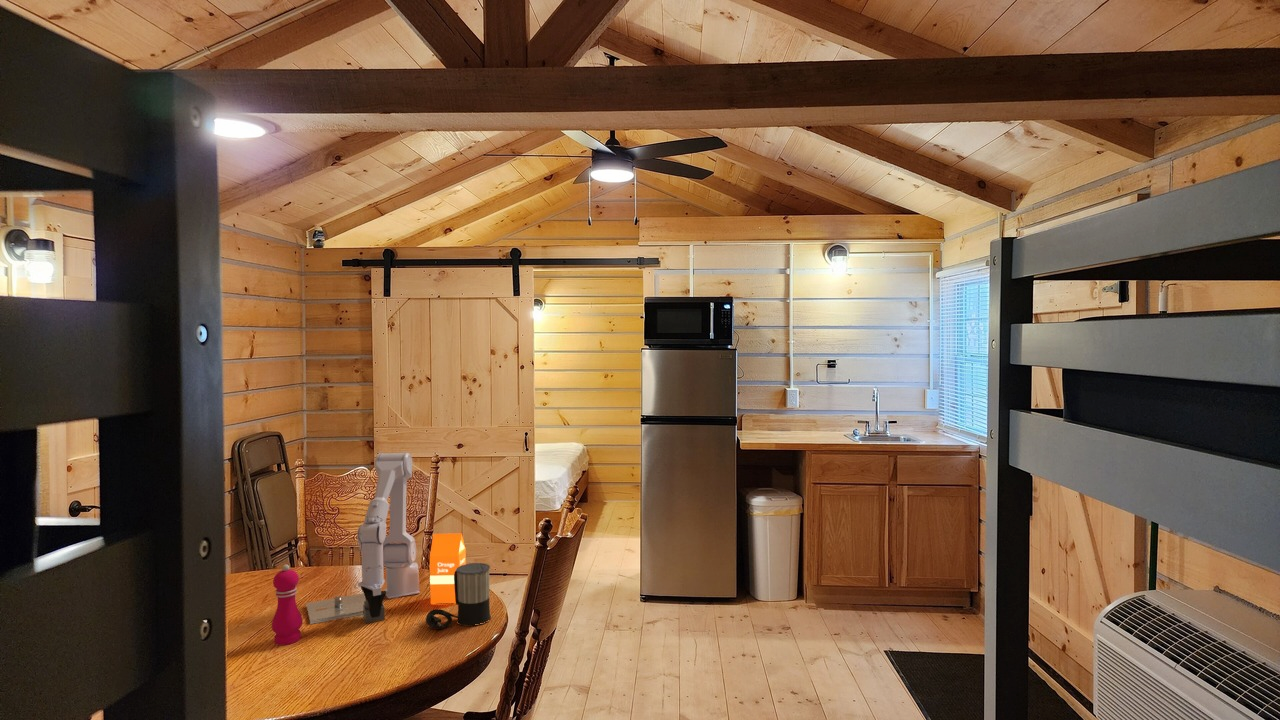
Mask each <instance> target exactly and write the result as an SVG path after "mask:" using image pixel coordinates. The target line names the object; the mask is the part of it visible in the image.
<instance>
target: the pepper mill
mask: <svg viewBox="0 0 1280 720" xmlns="http://www.w3.org/2000/svg"><path fill="white" fill-rule="evenodd" d="M299 581H300V577H299V574H298V573H297V571H295V570H293V569H290V565H288V564H283V565H282V566H281V570H280V571H279V572H277V573H276V574H275V575H274V577H273V580H272V582H273V583H272V584H273V585H272V586H273V587H274V588H275V589H276V590H275V597H277V607H276V610H275V612H274V616H273V618H272V622H271V630H272V631H273V632H274V633H275V634H274V636H273V638H274V639H273V640H274V641H273V643H274V644H275V645H276V644H277V646H286V645H292V644H294V643H297V642H299V641H300V640H301V638H302V634H301V633H302V632H301V630H300V629H301V627H303V617H302V613H301V612H300V610H299V608H298V606H297V602H296V594H297V593H298V591H297V589H298V588H297V586H298V584H299Z"/></svg>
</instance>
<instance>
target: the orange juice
mask: <svg viewBox="0 0 1280 720" xmlns="http://www.w3.org/2000/svg"><path fill="white" fill-rule="evenodd" d="M466 555H467V554H466V546H465V542H464V537H463V534H462V533H433V535H432V540H431V547H430V553H429V585H430V586H429V587H430V589H429V590H430V605H437V604H436V603H456V602H455V588H454V587H455V586H454V573H455V571H456V569H457V568H458V567H459V566H461V565H464V564H467V560H466Z"/></svg>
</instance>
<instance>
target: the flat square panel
mask: <svg viewBox="0 0 1280 720" xmlns="http://www.w3.org/2000/svg"><path fill="white" fill-rule="evenodd" d="M364 601H366V598H365V595H364V592H362V593H358V594H357V593H356V594H353V595H351V594H350V595H345V596H336V597H334V598H329V599H328V598H327V599H324V600H323V599H322V600H318V601H311V602H306V603H305V605H306V612H307V611H308V612H307V615H308V619H309V624H310V625H314V623H315V624H319V623H325V622H330V621H336V620H340V619H342V620H343V619H346V618H351V617H357V616H358V617H359V616H363V605H364Z"/></svg>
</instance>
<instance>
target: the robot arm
mask: <svg viewBox="0 0 1280 720" xmlns="http://www.w3.org/2000/svg"><path fill="white" fill-rule="evenodd" d="M374 469H375V474H376V476H377V482H376V488H375V494H374V498H373V499H371V500H370V501H369V502H368V506H367V510H366V513H365V517H364V520H363V523H362V524H361V525H359V527H358V529H357V536H356V540H357V542H358V545H359V547H358V548H359V551H360V552H361V553H360V554H361V581H360V582H357V587H360V589H361V590H362V593H364V595H365V598H366V600H367V601H368V604H369V609H370V614H371V617H372V618H374V617H379V616H380V612H381V607H382V602H383V603H384V600H385V597H386V598H387V599H395V598H400V597H406V596H410V595H416V594H420V592H421V591H420V576H419V575H420V571H419V565H418V562H417V561H416V562H415V560H416V557H417V546H416V540H415V538H414V536H413V535H411V534H409V533H408V532H407V491H408V490H407V489H408V487H407V486H408V480H409V479H411V478H412V477H413V458H412V455H411V454H410V453H409V452H398V453H397V452H395V453H394V452H393V453H389V452H388V453H387V452H386V453H382V452H378V453H377V455H376V456H375V460H374ZM388 499H389V502H388ZM388 514H389V534H387V526H388V524H387V523H386V522H387V519H388ZM384 568H385V569H384ZM384 570H385V572H384ZM385 573H386V578H385V575H384V574H385ZM385 579H386V580H385ZM385 583H386V589H384V590H382V587H383V586H384V585H385Z"/></svg>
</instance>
